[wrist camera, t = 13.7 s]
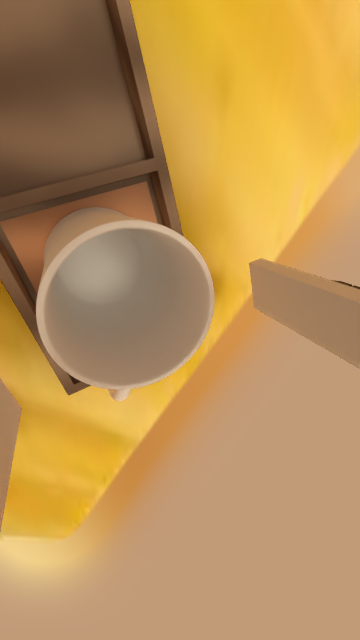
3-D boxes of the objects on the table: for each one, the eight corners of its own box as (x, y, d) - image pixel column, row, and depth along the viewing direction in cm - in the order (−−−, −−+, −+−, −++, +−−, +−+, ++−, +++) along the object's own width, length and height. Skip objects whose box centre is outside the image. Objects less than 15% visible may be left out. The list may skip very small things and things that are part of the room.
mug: (138, 346, 27) (187, 435, 17) (40, 345, 23) (24, 459, 13) (159, 219, 23) (238, 234, 13) (46, 195, 19) (30, 188, 9)
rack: (-233, -153, 12) (-310, -246, 9) (79, -146, 15) (82, -215, 13) (68, 379, 26) (69, 398, 24) (194, 325, 29) (207, 337, 27)
